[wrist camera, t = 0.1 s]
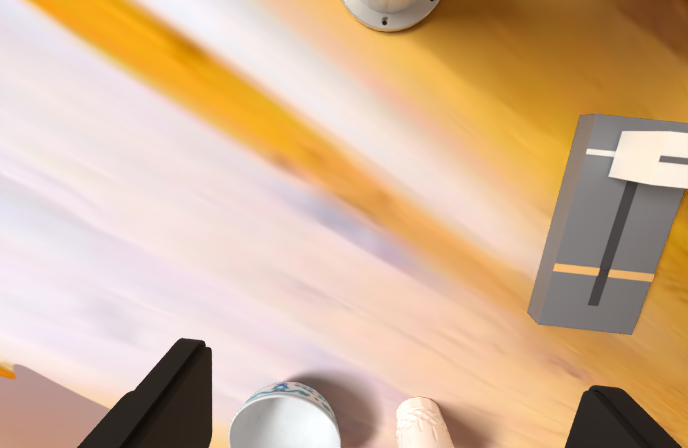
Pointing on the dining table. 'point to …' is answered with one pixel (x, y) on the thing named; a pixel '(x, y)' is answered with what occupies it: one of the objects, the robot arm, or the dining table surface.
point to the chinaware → (285, 419)
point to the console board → (603, 234)
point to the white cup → (421, 425)
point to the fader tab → (652, 158)
